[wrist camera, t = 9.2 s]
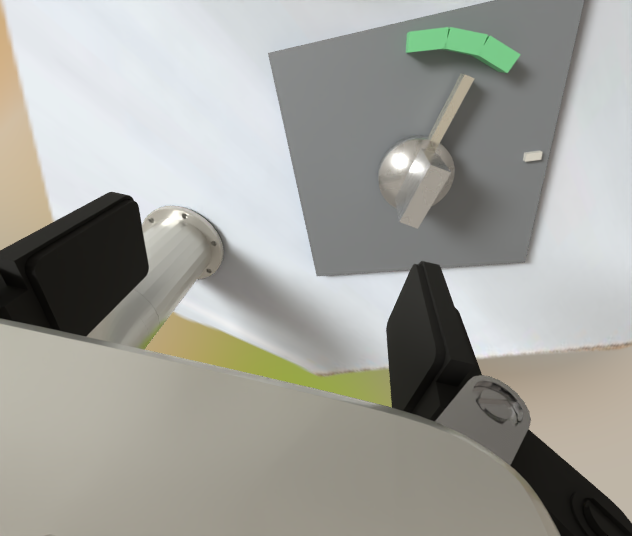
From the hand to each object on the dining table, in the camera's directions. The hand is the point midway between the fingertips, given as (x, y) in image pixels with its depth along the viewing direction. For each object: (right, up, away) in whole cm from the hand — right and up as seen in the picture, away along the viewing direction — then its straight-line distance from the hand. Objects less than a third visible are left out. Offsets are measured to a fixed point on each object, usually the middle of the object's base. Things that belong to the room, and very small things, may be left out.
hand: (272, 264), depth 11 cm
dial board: (+13, +12, +27) cm, 32 cm away
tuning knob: (+14, +13, +23) cm, 30 cm away
